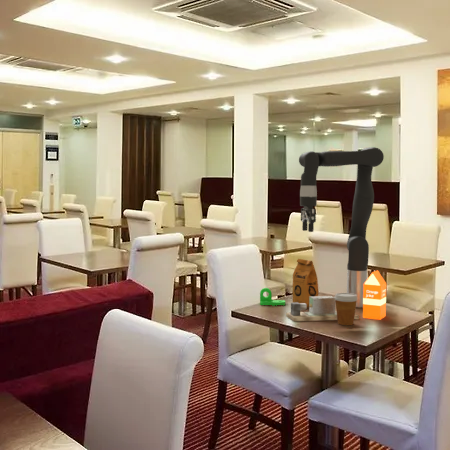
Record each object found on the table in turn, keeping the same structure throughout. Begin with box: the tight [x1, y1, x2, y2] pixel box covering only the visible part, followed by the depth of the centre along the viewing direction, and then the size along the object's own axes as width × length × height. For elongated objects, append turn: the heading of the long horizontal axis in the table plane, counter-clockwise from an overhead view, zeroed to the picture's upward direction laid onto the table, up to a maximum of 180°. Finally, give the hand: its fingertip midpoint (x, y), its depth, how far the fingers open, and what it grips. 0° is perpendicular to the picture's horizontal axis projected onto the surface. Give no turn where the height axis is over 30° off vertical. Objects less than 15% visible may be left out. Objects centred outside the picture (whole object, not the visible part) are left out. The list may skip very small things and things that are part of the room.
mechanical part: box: [259, 287, 286, 307], centre depth 279 cm, size 12×6×8 cm, turn 88°
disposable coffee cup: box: [333, 292, 358, 326], centre depth 239 cm, size 10×10×12 cm
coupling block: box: [308, 295, 336, 315], centre depth 251 cm, size 5×11×7 cm, turn 100°
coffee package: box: [292, 258, 320, 308], centre depth 278 cm, size 10×12×22 cm
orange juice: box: [362, 270, 387, 321], centre depth 252 cm, size 8×9×20 cm
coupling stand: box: [285, 301, 360, 322], centre depth 251 cm, size 29×11×6 cm, turn 100°
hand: (307, 231), depth 266 cm, fingers open, 8 cm apart
